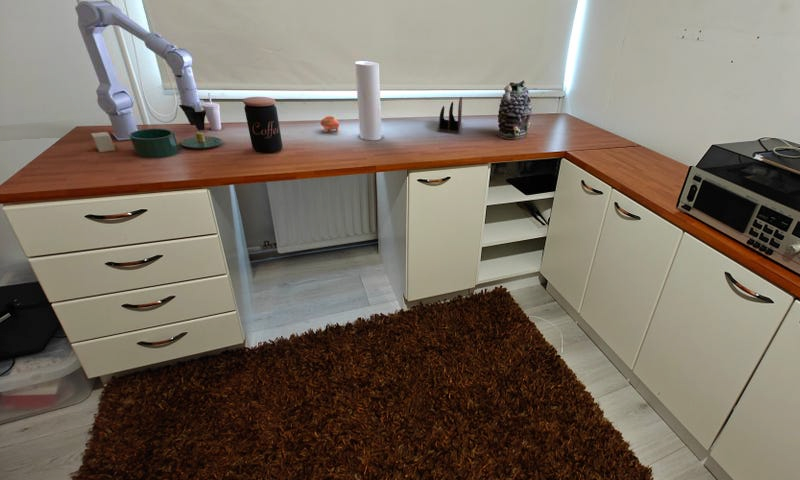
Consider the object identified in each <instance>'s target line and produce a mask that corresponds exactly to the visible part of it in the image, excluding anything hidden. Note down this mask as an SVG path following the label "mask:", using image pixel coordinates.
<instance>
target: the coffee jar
mask: <svg viewBox="0 0 800 480" xmlns="http://www.w3.org/2000/svg"><path fill="white" fill-rule="evenodd" d="M242 103H243V105H244V106H243V107H244V108H243V109H244V114H245V119H246V123H247V124H246V125H247V128H248V132H249V133H248V134H249V138H250V143H251V148H252V149H253V150H254V151H255V153H256V152H257V153H260V154H276V153H278V152H281V151H282V149H283V147H284V146H283V141H282V140H283V139H282V134H281V127H280V120H279V115H278V110H277V106H276V99H275V98H272V97H267V96H251V97H249V96H248V97H245V98H243V99H242Z"/></svg>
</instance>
